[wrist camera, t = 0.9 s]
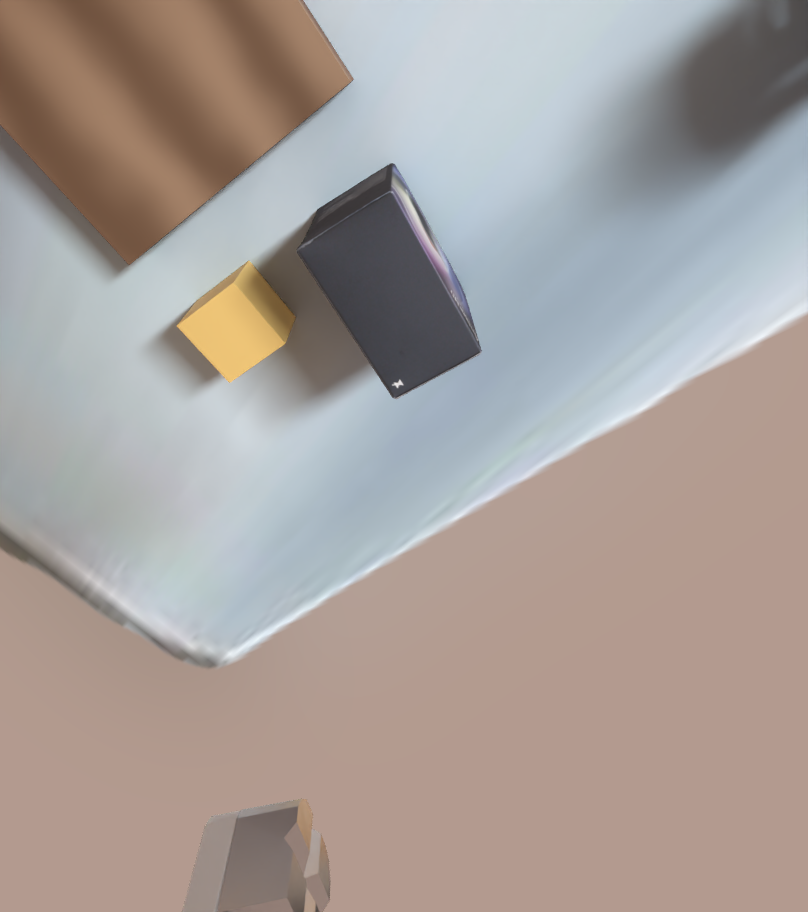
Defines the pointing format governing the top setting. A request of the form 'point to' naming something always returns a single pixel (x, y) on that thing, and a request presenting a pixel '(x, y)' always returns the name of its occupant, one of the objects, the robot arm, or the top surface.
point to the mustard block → (238, 322)
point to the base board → (156, 99)
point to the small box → (390, 282)
